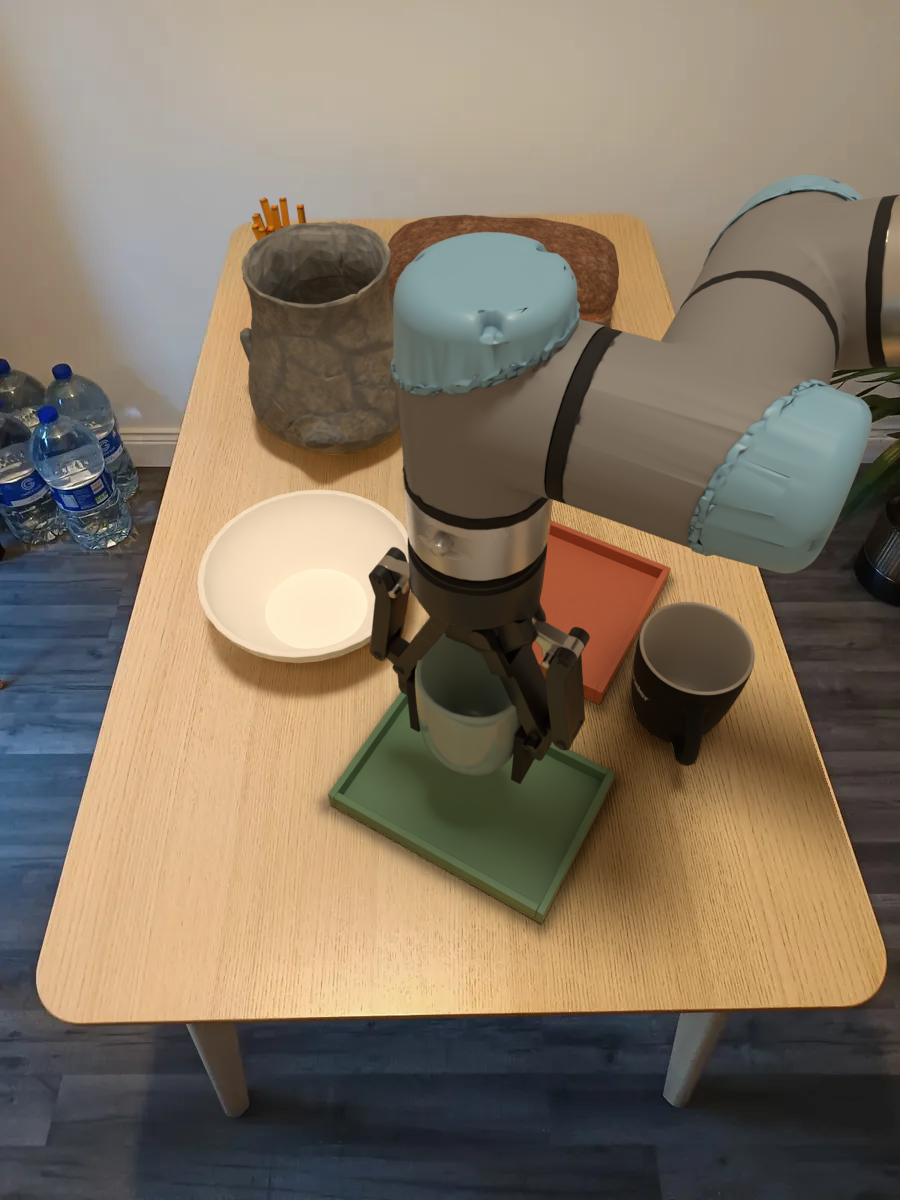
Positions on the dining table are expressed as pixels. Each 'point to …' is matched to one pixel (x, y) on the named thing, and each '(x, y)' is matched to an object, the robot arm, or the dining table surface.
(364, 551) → the bowl
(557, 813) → the green tray
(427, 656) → the cup
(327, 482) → the dining table surface
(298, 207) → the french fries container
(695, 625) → the mug
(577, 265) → the bread
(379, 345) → the vessel
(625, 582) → the terracotta tray
